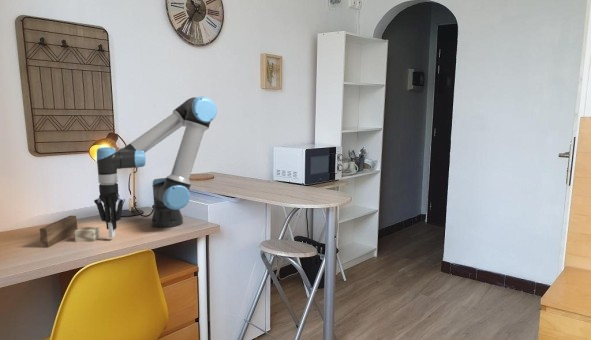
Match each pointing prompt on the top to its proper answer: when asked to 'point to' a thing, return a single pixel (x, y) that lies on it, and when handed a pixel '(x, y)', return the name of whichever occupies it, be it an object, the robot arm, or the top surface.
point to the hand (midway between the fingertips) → (112, 236)
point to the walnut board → (58, 231)
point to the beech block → (87, 234)
